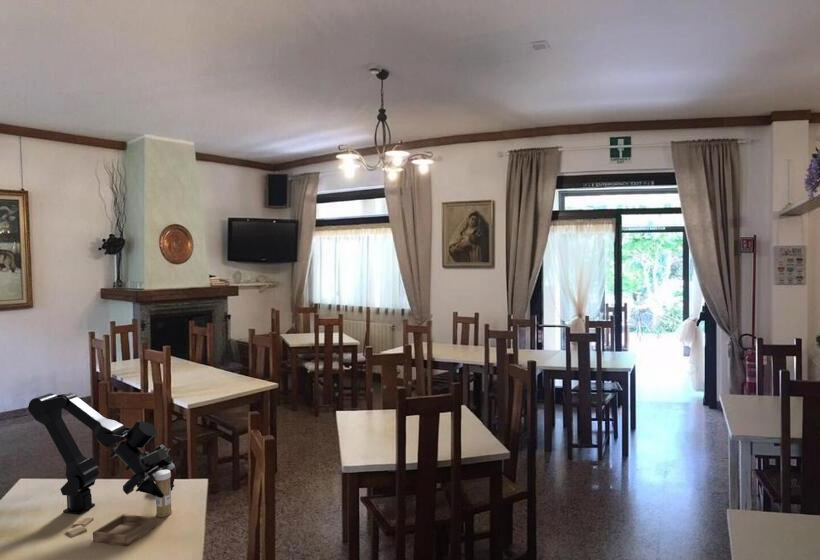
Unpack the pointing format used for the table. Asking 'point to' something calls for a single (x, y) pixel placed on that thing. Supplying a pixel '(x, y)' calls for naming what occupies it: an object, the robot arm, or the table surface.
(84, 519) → the oak tile
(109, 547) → the table surface
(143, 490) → the robot arm
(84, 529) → the oak tile
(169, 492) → the sprinkles bottle
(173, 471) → the mate gourd
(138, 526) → the box
